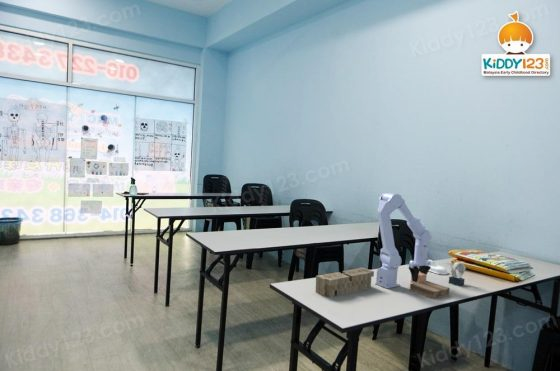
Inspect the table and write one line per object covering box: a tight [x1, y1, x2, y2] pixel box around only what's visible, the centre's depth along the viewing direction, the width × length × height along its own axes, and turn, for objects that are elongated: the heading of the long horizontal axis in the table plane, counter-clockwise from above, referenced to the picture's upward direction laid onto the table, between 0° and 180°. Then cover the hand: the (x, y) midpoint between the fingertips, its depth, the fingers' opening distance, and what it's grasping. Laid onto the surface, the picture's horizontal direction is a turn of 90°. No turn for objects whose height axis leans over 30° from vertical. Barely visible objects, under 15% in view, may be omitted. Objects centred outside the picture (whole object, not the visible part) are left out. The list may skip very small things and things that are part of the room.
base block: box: [409, 280, 450, 300], centre depth 176 cm, size 12×12×3 cm
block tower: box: [315, 267, 375, 298], centre depth 173 cm, size 8×8×29 cm
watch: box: [448, 261, 467, 287], centre depth 191 cm, size 6×8×11 cm
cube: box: [410, 272, 428, 284], centre depth 189 cm, size 5×5×5 cm
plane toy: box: [409, 259, 449, 275], centre depth 215 cm, size 10×20×6 cm, turn 34°
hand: (418, 280), depth 189 cm, fingers open, 6 cm apart
